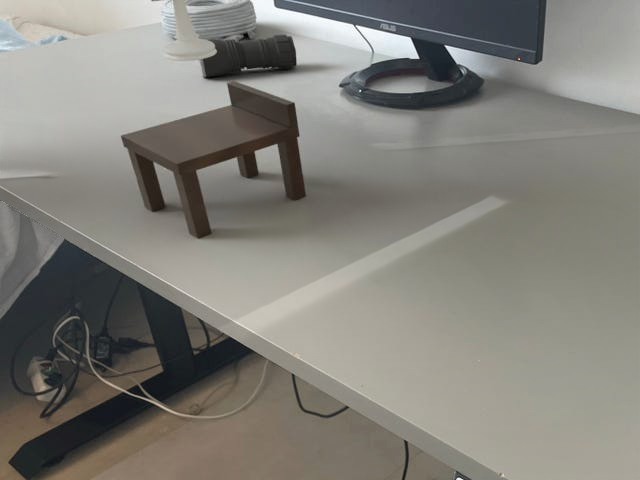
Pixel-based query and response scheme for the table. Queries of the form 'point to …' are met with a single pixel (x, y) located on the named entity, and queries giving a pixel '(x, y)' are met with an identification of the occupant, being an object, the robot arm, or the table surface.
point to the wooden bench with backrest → (216, 149)
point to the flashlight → (249, 55)
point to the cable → (214, 18)
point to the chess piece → (187, 38)
